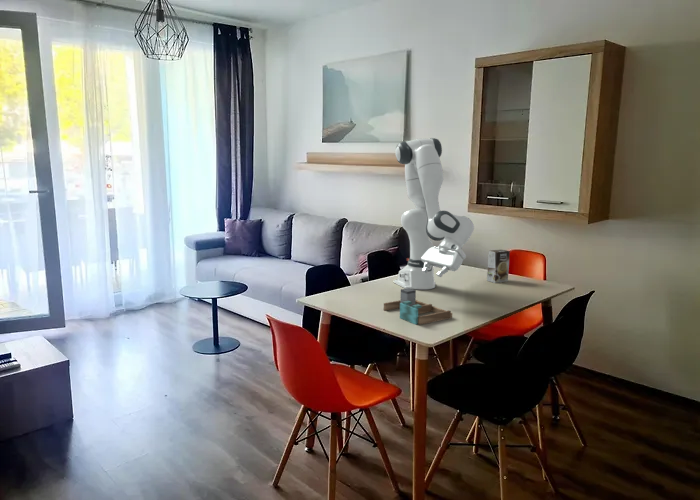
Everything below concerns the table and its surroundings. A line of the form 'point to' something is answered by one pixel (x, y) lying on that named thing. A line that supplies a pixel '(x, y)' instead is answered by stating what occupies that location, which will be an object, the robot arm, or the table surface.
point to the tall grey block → (408, 296)
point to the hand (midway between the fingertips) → (430, 273)
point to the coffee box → (498, 266)
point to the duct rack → (418, 312)
